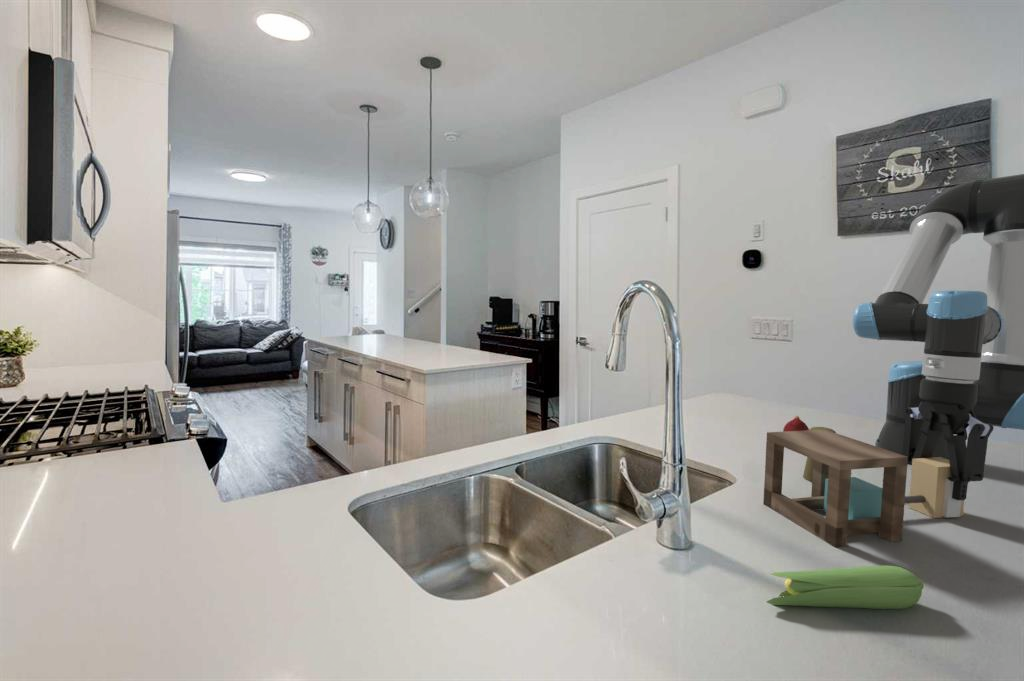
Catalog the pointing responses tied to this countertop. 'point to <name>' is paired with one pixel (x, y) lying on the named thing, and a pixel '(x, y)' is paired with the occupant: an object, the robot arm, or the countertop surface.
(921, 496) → the square-ended dumbbell
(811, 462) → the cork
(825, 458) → the walnut bench
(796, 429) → the onion
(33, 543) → the countertop surface
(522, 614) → the countertop surface
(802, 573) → the edible corn
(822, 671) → the countertop surface
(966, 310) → the robot arm
